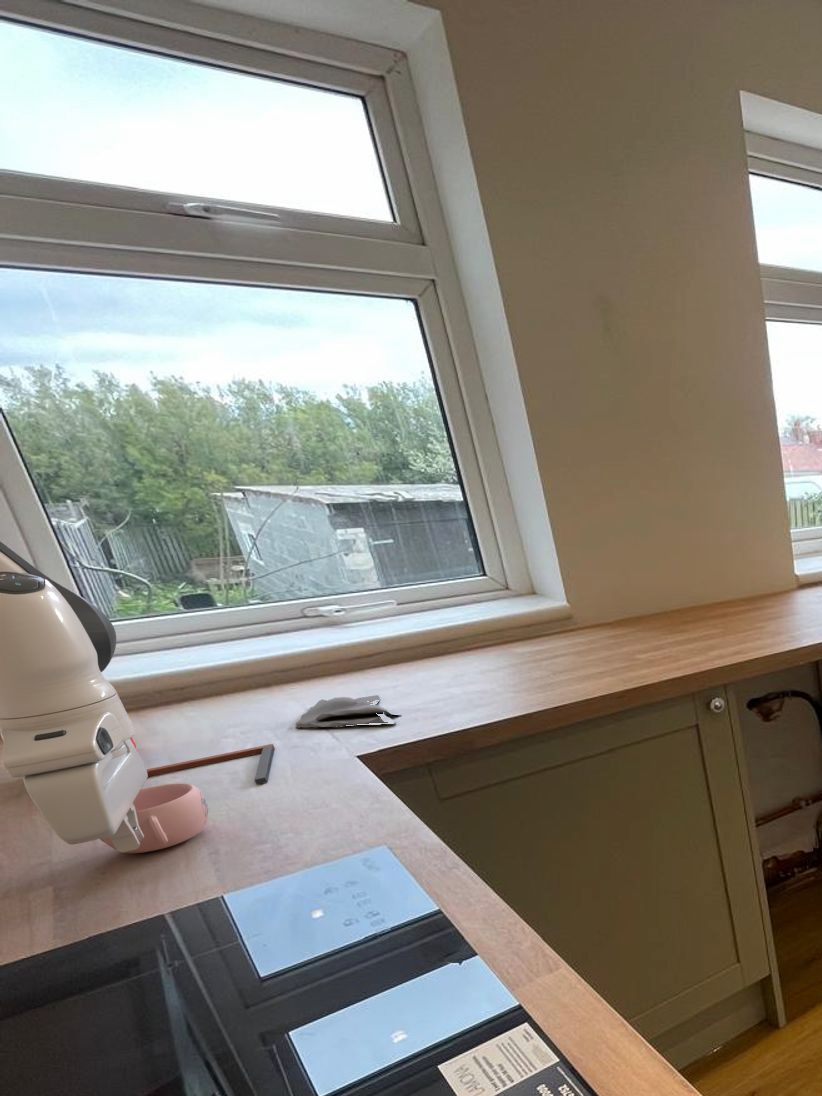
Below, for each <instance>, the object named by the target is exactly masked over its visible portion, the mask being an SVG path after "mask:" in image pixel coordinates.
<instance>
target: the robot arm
mask: <svg viewBox="0 0 822 1096" xmlns="http://www.w3.org/2000/svg"><path fill="white" fill-rule="evenodd" d="M116 647H117V633H116V629H115V627H114V625H113V623H112V621H111V620H110V619H109V617H108V616H107V615H106V614H105V612H103V611H102V610H101V609H100V608H98V607H97V606H96V605H94V604H93V603H92V602H90V601H89V600H87V599H86V598H84V597H83V596H81V595H79V594H78V593H76V592H74V591H72V590H71V589H68V588H67V587H65V586H64V585H62V584H60V583H58V582H56V581H55V580H54V579H52V578H50V577H49V576H47V575H46V574H45V573H43V572H42V571H40V570H39V569H37V568H36V567H35V566H33V565H32V564H31V563H29V562H28V561H27V560H26V559H25V558H23V557H22V556H20V555H19V554H18V553H17V552H15V551H14V550H13V549H12V548H10V547H9V546H7V545H6V544H5V543H4V542H2V541H1V540H0V737H1V739H2V741H3V751H2V754H1V762H2V765H3V768H4V769H5V770H6V773H7V774H8V775H9V776H10V777H12V778H21V777H23V784H24V788H25V790H26V792H27V794H28V795H29V797H30V799H31V800H32V802H33V803H34V805H35V806H36V808H37V809H38V811H39V812H40V814H41V815H42V817H43V818H44V819H45V821H46V823H47V824H48V826H49V828H51V830H52V831H53V832H54V834H55V835H56V836H57V837H58V838H59V839H61V840H62V841H63V842H65V843H66V844H68V845H78V844H79V845H80V844H83V843H88V842H92V841H96V840H100V839H101V838H105V837H108V838H109V839H110V840H111V841H112V843H113V845H114V846H115V848H116V850H115V851H117V852H119V853H123V852H127V851H131V850H136V849H138V848H139V846H140V843H141V842H142V840H143V838H144V835H143V833H142V831H141V829H140V827H139V825H138V819H137V814H136V810H135V807H134V805H133V802H134V800H135V798H136V796H137V795H138V793H139V791H140V789H143V786H144V784H145V783H146V781H147V779H148V777H149V776H148V774H147V770H146V769H147V767H146V764H145V762H144V761H143V758H142V757H141V755H140V753H139V752H138V750H137V747H136V748H135V746H134V745H133V743H132V741H131V740H130V738H131V737H132V738H133V737H134V736H135V735H136V733H137V730H136V728H135V726H134V723H133V722H132V720H131V718H130V716H129V713H128V712H127V710H126V708H125V706H124V704H123V702H122V701H121V698H120V696H119V694H118V692H117V690H116V689H115V687H114V686H113V685H112V684H111V683H110V682H109V681H108V680H107V679H106V678H105V676H104V675H103V673H102V672H104V671H105V670H106V668H107V667H108V666H109V664H110V663H111V661H112V659H113V658H114V655H115V651H116Z"/></svg>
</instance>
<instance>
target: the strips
mask: <svg viewBox="0 0 822 1096" xmlns="http://www.w3.org/2000/svg"><path fill="white" fill-rule="evenodd" d="M274 752H275V745H274V743H269V744H265V745H259V746H253V747H250V748H245V749H239V750H235V751H231V752H225V753H220V754H215V755H210V756H206V757H201V758H196V759H191V760H186V761H181V762H176V763H172V764H171V763H170V764H166V765H162V766H156V767H152V768H148V769H147V768H146V770H147V774H148V777H153V776H159V775H161V774H168V773H172V772H176V771H181V770H186V769H187V770H188V769H191V768H195V767H194V766H196V767H200V766H199V765H201V766H205V765H204V764H206V765H209V764H208V763H211V764H214V763H213V762H215V763H219V761H220V762H226V761H230V760H234V759H239V758H244V757H248V755H249V756H253V755H252V754H254V755H258V753H259V754H260V756H259V762H258V765H257V769H256V772H255V775H254V776H255V777H254V782H255V784H256V785H261V784H266V783H268V781H269V777H270V776H269V775H270V773H271V767H272V762H273V758H274Z"/></svg>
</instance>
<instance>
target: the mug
mask: <svg viewBox="0 0 822 1096" xmlns="http://www.w3.org/2000/svg"><path fill="white" fill-rule="evenodd" d="M133 805H134V807H135V810H136V814H137V819H138V825H139V827H140V829H141V831H142V833H143V835H144V838H143V840H142V842H141V843H140V846H139V848H138V849H136V850H131V851H127V852H122V853H123V854H140V853H141V854H142V853H148V852H155V851H159V850H163V849H167V848H171V847H173V846H176V845H178V844H181V843H184V842H185V841H188V840H191V839H192V838H193V837H195V836H197V835H198V834H200V833H201V832H203V830H204V829H205V827H206V825H207V823H208V818H209V806H208V802H207V800H206V798H205V797H204V794H203V793H202V791H201V789H200V788H199V787H197V786H196V785H193V784H191V783H186V782H183V783H182V782H180V783H179V782H177V783H167V784H159V785H155V786H149V787H145V788H141V789H140V791H139V793H138V795H137V796H136V798H135V800H134V802H133ZM99 840H100V841H101V842H103V843H105V845H107V846H109V847H110V848H112V849H113V850H115V851H117V850H116V848H115V846H114V845H113V843H112V841H111V840H110V839H109V838H108V837H105V838H101V839H99Z"/></svg>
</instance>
